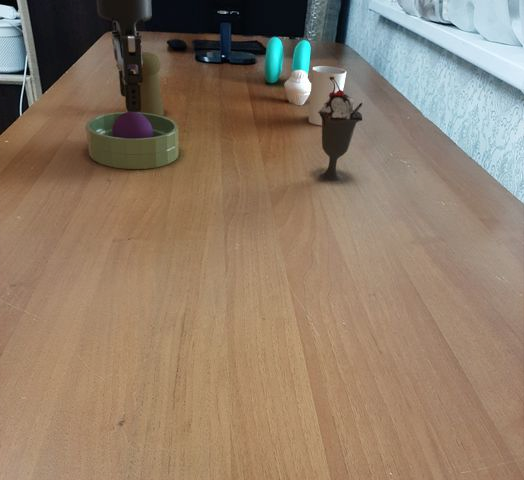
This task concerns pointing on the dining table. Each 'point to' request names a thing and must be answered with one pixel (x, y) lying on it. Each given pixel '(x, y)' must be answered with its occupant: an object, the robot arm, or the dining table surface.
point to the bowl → (132, 143)
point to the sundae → (337, 128)
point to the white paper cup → (323, 89)
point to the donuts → (276, 58)
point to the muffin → (297, 87)
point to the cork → (151, 85)
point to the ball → (132, 126)
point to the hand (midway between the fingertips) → (130, 103)
